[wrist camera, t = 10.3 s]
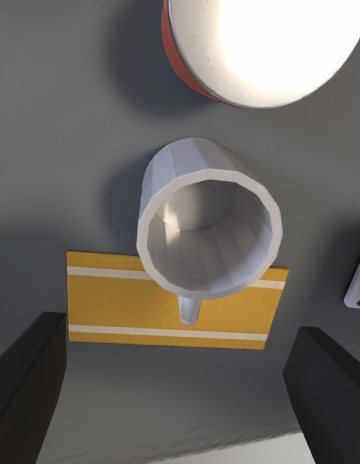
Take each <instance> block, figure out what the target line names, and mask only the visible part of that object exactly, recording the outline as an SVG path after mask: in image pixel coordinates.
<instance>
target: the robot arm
mask: <svg viewBox="0 0 360 464" xmlns="http://www.w3.org/2000/svg"><path fill="white" fill-rule="evenodd" d="M359 300H360V263H359V266H358V268H357V270H356V273H355V275H354V277H353V279H352V282H351V284H350V286H349V289H348V291H347V293H346V296H345V298H344V303H345V305H346V306H347V307H349V308H360V301H359ZM358 301H359V302H358ZM66 365H67V357H66V313H56V312H43V313H41V314H40V315H39V316H38V317H37V318H36V319H35V320H34V322H33V323H32V324H31V325H30V326H29V327H28V328H27V329H26V330H25V331H24V332H23V333H22V334H21V336H20V337H19V338H18V339H17V340H16V341H15V342H14V343H13V344H12V345H11V346H10V347H9V348H8V349H7V350H6V351H5V352H4V353H3V354H2V355H1V356H0V464H36V461H37V458H38V455H39V452H40V450H41V447H42V444H43V441H44V438H45V436H46V433H47V430H48V427H49V424H50V421H51V419H52V416H53V413H54V410H55V407H56V404H57V401H58V398H59V394H60V390H61V386H62V382H63V378H64V373H65V369H66ZM282 373H283V376H284V380H285V384H286V388H287V391H288V395H289V398H290V401H291V405H292V407H293V410H294V413H295V415H296V417H297V420H298V422H299V425H300V427H301V430H302V432H303V434H304V437H305V439H306V441H307V444H308V446H309V449H310V451H311V454H312V456H313V458H314V461H315V463H316V464H360V362H359V361H358V360H357V359H355V358H354V357H353V356H352V355H351V354H350V353H348V352H347V351H346V350H345V349H344V348H343V347H341V346H340V345H339V344H338V343H337V342H336V341H334V340H333V339H332V338H331V337H330V336H328V335H327V334H326V333H325V332H323V331H322V330H321V329H319V328H317V327H300V328H299V331H298V333H297V336H296V339H295V341H294V344H293V346H292V349H291V352H290V354H289V357H288V359H287V362H286V365H285V367H284V370H283V372H282Z"/></svg>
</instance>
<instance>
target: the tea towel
mask: <svg viewBox="0 0 360 464" xmlns="http://www.w3.org/2000/svg"><path fill="white" fill-rule="evenodd" d="M288 272H289V269H288V268H282V267H269V268H268V269H267V271H266V272H265V273H264V274H263V276H262V277H261V278H260V279H259V280H258V281H256V282H255V283H253V284H251V285H250V286H248V287H247V288H245V289H244V290H242V291H241V292H239V293H237V294H234V295H230V296H226V297H222V298H218V299H214V300H202V303H201V308H200V313H199V318H198V321H197V322H196V324H194V325H192V326H187V325H185V324H183V323H182V321H181V319H180V311H179V301H178V295H177V294H174V293H172V292H170V291H167V290H165V289H163V288H162V287H161V286H160V285H159V284H158V283H157V282H156V281H155V280H154V279H153V278H152V277H151V276H150V275H149V274H148V273H147V272H146V271H145V269H144V266H143V264H142V261H141V259H140V257H138V256H125V255H112V254H99V253H86V252H73V251H68V252H67V280H68V320H69V341H77V342H100V343H123V344H146V345H169V346H192V347H215V348H238V349H261V350H263V349H264V346H265V343H266V340H267V337H268V334H269V331H270V327H271V324H272V321H273V318H274V315H275V312H276V309H277V306H278V303H279V300H280V297H281V294H282V291H283V288H284V285H285V282H286V279H287V275H288Z"/></svg>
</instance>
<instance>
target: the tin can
mask: <svg viewBox="0 0 360 464" xmlns="http://www.w3.org/2000/svg"><path fill="white" fill-rule="evenodd" d="M161 29H162V39H163V44H164V49H165V52H166V55H167V58H168V60H169V63H170V65H171V67H172V68H173V70H174V72H175V73H176V74H177V75H178V77H179V78H180V79H181V80H182V81H183V82H184V83H185V84H186V85H187V86H188V87H190V88H191V89H192V90H194V91H196V92H197V93H199V94H201V95H204V96H206V97H209V98H212V99H214V100H217V101H219V102H222V103H225V104H227V105H230V106H235V107H240V108H246V109H255V110H266V109H275V108H280V107H284V106H287V105H290V104H293V103H296V102H298V101H300V100H302V99H304V98H306V97H308V96H309V95H311V94H312V93H314V92H315V91H317V90H318V89H320V88H321V87H322V86H323V85H324V84H326V83H327V82H328V81H329V80H330V79H331V78H332V77H333V76H334V75H335V74H336V73H337V72H338V71H339V70H340V69H341V67H342V66H343V65H344V63H345V62H346V61H347V59H348V58H349V57H350V55H351V54H352V52H353V50H354V49H355V47H356V46H357V44H358V42H359V40H360V0H164V2H163V10H162V23H161Z"/></svg>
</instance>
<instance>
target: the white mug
mask: <svg viewBox="0 0 360 464" xmlns="http://www.w3.org/2000/svg"><path fill="white" fill-rule="evenodd" d="M282 236H283V230H282V222H281V215H280V209H279V207H278V205H277V204H276V202H275V201H274V199H273V198H272V196H271V195H270V193H269V192H268V191H267V189H266V188H265V186H264V185H263V184H262V183H261V182H260V181H259V180H258V179H257V178H256V177H255V176H254V175H253V174H252V173H251V172H250V171H249V170H248V169H247V168H246V167H245V166H244V165H243V164H242V163H241V162H240V161H239V160H238V159H237V158H236V157H235V156H234V155H233V154H232V153H231V152H230V151H228V150H227V149H225V148H224V147H222V146H221V145H220V144H218V143H216V142H214V141H211V140H208V139H204V138H194V137H193V138H185V139H180V140H177V141H174V142H172V143H170V144H168V145H167V146H165V147H164V148H162V149H161V150H160V151H159V152H158V153H157V154H156V155H155V156H154V157H153V158H152V160H151V161H150V163H149V165H148V167H147V169H146V172H145V174H144V177H143V185H142V194H141V203H140V212H139V221H138V233H137V245H136V247H137V251H138V253H139V256H140V259H141V261H142V264H143V266H144V269H145V271H146V272H147V273H148V274H149V275H150V276H151V277H152V278H153V279H154V280H155V281H156V282H157V283H158V284H159V285H160V286H161V287H162V288H163V289H165V290H167V291H170V292H172V293H174V294H177V295H178V301H179V311H180V319H181V321H182V323H183V324H185V325H187V326H192V325H194V324H196V322H197V321H198V318H199V313H200V308H201V303H202V300H214V299H218V298H222V297H226V296H230V295H234V294H237V293H239V292H241V291H242V290H244V289H245V288H247V287H248V286H250V285H251V284H253V283H255V282H256V281H258V280H259V279H260V278H261V277H262V276H263V274H264V273H265V272H266V271H267V269H268V268H269V267H270V265H271V264H272V263H273V262H274V260H275V258H276V256H277V253H278V249H279V246H280V243H281V239H282Z"/></svg>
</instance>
